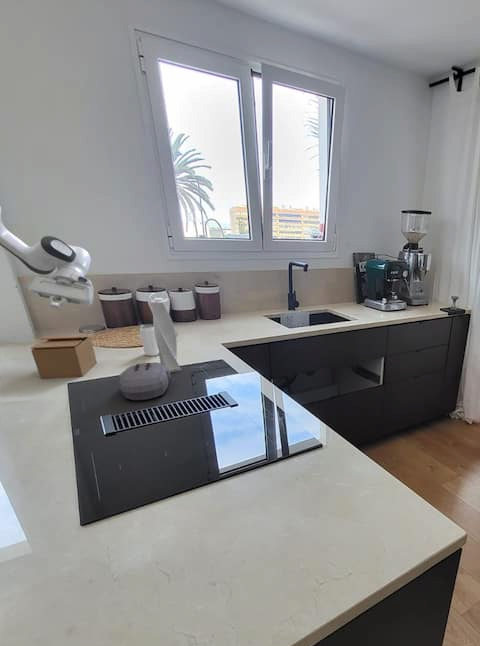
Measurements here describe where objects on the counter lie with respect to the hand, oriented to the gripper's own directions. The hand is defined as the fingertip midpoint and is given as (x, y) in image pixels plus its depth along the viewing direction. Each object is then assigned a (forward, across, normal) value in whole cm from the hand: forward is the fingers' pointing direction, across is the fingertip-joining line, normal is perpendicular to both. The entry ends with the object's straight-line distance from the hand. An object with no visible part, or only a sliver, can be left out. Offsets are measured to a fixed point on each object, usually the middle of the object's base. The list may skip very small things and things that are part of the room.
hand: (54, 307), depth 148 cm
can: (+5, +34, +12) cm, 37 cm away
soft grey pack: (+37, +42, -14) cm, 57 cm away
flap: (+13, +7, 0) cm, 15 cm away
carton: (+22, +10, +6) cm, 25 cm away
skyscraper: (+20, +45, -2) cm, 49 cm away
